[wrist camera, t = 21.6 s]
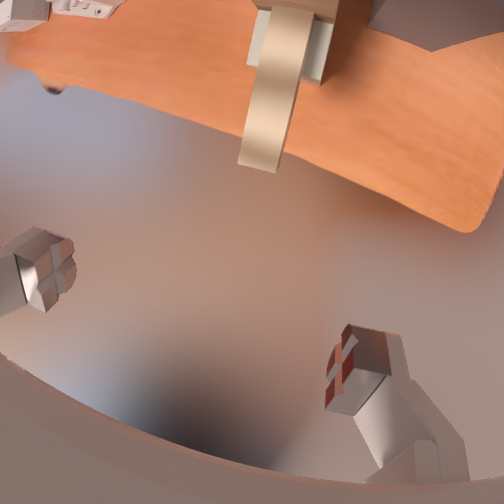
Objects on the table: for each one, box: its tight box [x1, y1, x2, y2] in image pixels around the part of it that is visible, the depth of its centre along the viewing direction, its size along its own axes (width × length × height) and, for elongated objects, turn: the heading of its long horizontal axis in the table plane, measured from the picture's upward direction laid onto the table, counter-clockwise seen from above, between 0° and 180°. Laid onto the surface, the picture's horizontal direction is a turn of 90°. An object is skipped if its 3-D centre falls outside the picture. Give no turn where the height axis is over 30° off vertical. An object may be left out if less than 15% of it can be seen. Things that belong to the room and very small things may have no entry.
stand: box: [246, 0, 340, 86], centre depth 30 cm, size 7×12×16 cm, turn 168°
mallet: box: [238, 0, 339, 173], centre depth 23 cm, size 21×7×5 cm, turn 168°
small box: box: [0, 0, 50, 32], centre depth 34 cm, size 8×6×10 cm
